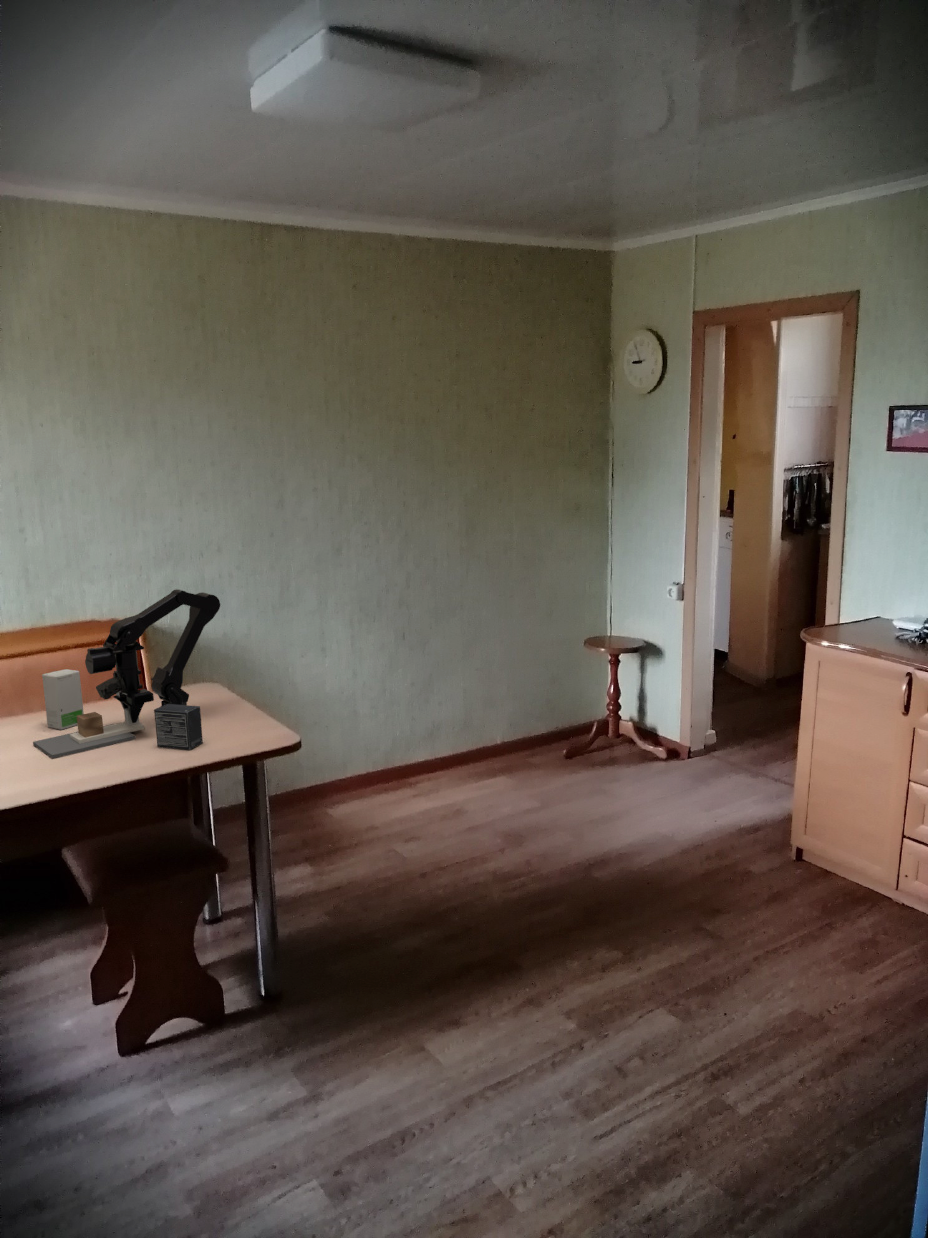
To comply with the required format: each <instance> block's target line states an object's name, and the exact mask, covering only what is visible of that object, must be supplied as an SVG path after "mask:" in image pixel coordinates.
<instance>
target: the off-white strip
mask: <svg viewBox="0 0 928 1238" xmlns="http://www.w3.org/2000/svg"><path fill="white" fill-rule="evenodd" d="M123 712H124V714H123V715H124V722H119V723H112V724H113V725H110V724H108V725H109V726H106V725H103V726H104V727H103V730H104V733H103V734H99V735H94V736H90V737H86V738H85V737H84V736H82V735H80V734H79V733H78V731H76V732H77V733H74V732H72V733H73V734H70V733H69V734H70V738H71V739H73V740H74V741H76V742H78V743H79V744H81V743H85V742H89V741H94V740H98V739H102V738H107V737H111V736H115V735H120V734H124V733H128V732H129V733H132V732H137V731H141V730H144V729H145V727H146V726H145V724H143V723H141V722H140V716H139V717H138V719H137V722H136V723H132V720H131V717H130V713H129V709H128V708H125V709H123Z"/></svg>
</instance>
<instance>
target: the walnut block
mask: <svg viewBox="0 0 928 1238" xmlns="http://www.w3.org/2000/svg"><path fill="white" fill-rule="evenodd" d="M77 724H78V725H77V732H78V733H79V734H80V735H82V736H84V737H85V738H86V737H90V736H94V735H99V734H103V733H104V730H103V726H104V723H103V715H102V714H100V713H98V712H96V711H93V712H88V713H84V714H82V715H78V716H77Z"/></svg>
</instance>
